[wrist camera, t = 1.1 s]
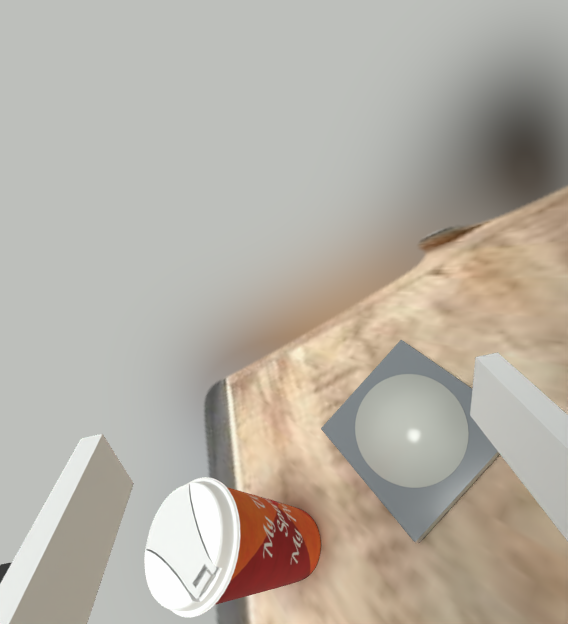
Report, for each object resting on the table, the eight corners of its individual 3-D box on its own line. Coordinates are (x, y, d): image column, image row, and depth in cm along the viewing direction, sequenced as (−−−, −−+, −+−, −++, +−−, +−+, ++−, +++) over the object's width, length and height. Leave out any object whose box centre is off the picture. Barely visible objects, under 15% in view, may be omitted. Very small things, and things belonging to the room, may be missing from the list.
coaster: (404, 344, 35) (400, 339, 34) (523, 427, 26) (522, 423, 25) (326, 431, 35) (320, 428, 34) (419, 542, 26) (414, 542, 26)
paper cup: (348, 537, 29) (247, 532, 20) (299, 621, 28) (167, 659, 19) (289, 477, 35) (188, 450, 25) (247, 546, 34) (125, 545, 24)
